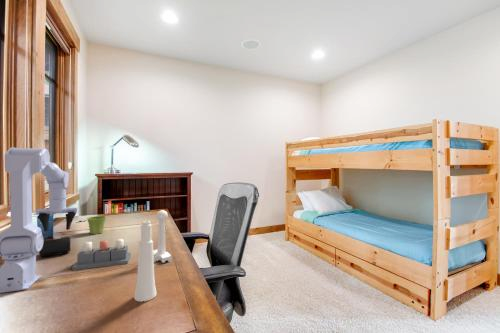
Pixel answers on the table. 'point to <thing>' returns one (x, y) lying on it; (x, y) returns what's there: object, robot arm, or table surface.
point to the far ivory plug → (119, 244)
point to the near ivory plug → (87, 247)
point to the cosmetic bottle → (145, 266)
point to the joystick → (161, 239)
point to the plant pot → (96, 224)
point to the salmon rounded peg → (104, 245)
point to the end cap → (55, 246)
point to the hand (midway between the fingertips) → (57, 230)
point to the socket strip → (102, 258)
